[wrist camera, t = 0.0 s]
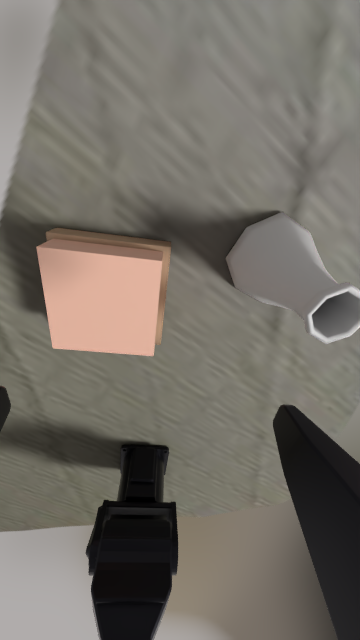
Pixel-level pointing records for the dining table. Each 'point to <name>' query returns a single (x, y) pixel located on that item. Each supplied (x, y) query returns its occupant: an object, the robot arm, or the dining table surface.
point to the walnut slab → (130, 243)
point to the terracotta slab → (101, 296)
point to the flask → (293, 277)
